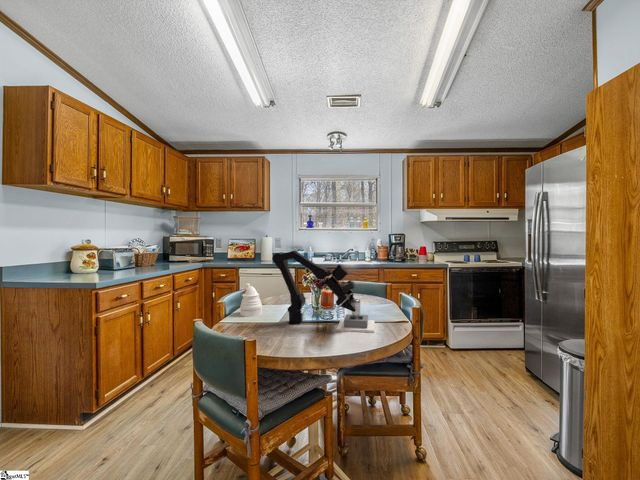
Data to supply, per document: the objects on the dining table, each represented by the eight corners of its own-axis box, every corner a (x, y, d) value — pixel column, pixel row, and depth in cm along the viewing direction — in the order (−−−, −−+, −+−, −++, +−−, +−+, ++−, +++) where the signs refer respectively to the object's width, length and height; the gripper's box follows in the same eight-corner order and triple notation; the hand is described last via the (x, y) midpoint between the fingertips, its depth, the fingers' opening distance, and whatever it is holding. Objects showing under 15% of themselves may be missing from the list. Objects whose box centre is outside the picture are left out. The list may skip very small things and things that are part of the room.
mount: (336, 330, 159) (336, 321, 159) (341, 320, 177) (340, 312, 177) (373, 332, 156) (373, 323, 156) (374, 322, 174) (374, 313, 173)
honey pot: (236, 315, 191) (235, 285, 190) (247, 310, 203) (246, 281, 202) (255, 317, 187) (255, 286, 186) (265, 311, 199) (265, 282, 199)
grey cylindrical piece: (353, 325, 164) (353, 301, 163) (350, 323, 168) (350, 299, 168) (362, 324, 165) (361, 300, 165) (358, 322, 169) (358, 298, 169)
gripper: (342, 278, 158) (365, 302, 155) (349, 273, 176) (369, 294, 173) (326, 294, 160) (348, 317, 158) (335, 287, 178) (355, 308, 176)
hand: (356, 309), depth 166 cm, fingers open, 9 cm apart
